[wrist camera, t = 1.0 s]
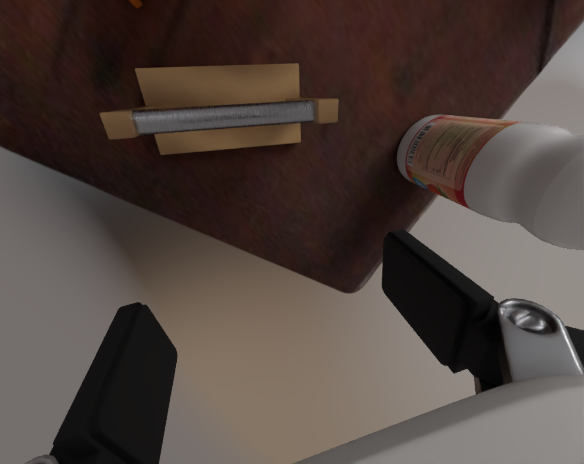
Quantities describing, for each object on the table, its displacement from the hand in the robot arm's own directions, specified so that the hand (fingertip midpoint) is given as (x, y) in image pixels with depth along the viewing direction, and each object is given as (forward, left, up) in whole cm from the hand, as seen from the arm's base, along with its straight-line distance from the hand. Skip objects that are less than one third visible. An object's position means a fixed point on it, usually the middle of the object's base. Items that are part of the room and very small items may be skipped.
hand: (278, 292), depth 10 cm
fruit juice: (-3, +26, -25) cm, 36 cm away
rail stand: (-5, -2, -24) cm, 25 cm away
